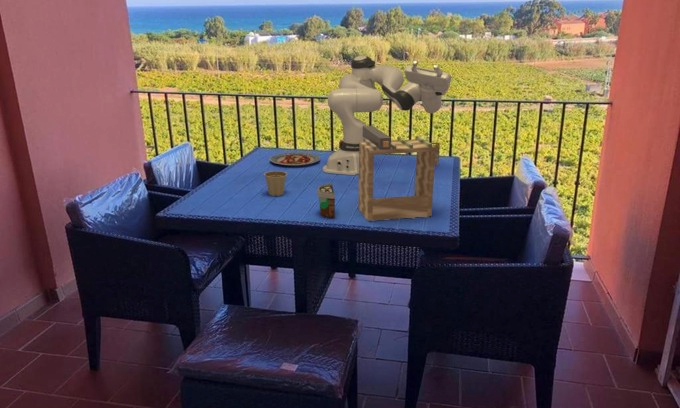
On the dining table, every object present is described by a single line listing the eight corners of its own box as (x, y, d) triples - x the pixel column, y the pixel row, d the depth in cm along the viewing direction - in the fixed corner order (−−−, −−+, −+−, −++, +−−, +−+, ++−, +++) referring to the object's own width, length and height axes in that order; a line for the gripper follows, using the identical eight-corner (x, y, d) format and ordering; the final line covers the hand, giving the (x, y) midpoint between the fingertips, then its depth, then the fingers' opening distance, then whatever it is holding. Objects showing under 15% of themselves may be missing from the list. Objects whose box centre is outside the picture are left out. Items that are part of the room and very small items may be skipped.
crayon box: (436, 163, 263) (438, 141, 259) (438, 165, 260) (440, 142, 256) (422, 164, 262) (424, 141, 258) (424, 165, 259) (426, 143, 255)
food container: (316, 208, 198) (316, 183, 194) (332, 208, 198) (332, 183, 195) (317, 220, 186) (317, 193, 183) (335, 219, 186) (335, 193, 183)
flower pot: (291, 191, 217) (291, 172, 215) (281, 198, 209) (281, 178, 206) (271, 189, 220) (270, 170, 218) (261, 196, 212) (260, 175, 209)
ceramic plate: (275, 155, 279) (275, 150, 278) (323, 157, 277) (323, 151, 276) (264, 168, 255) (264, 162, 254) (316, 169, 253) (316, 163, 252)
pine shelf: (358, 208, 197) (359, 138, 188) (417, 204, 202) (421, 135, 193) (368, 221, 184) (369, 146, 176) (431, 217, 189) (436, 143, 180)
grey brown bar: (362, 136, 198) (362, 126, 197) (372, 136, 199) (372, 125, 197) (380, 150, 176) (380, 138, 174) (391, 149, 177) (392, 138, 175)
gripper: (410, 76, 232) (405, 54, 221) (453, 85, 223) (451, 62, 212) (404, 86, 230) (399, 65, 218) (448, 96, 221) (445, 74, 210)
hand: (425, 64), depth 215 cm, fingers open, 8 cm apart
